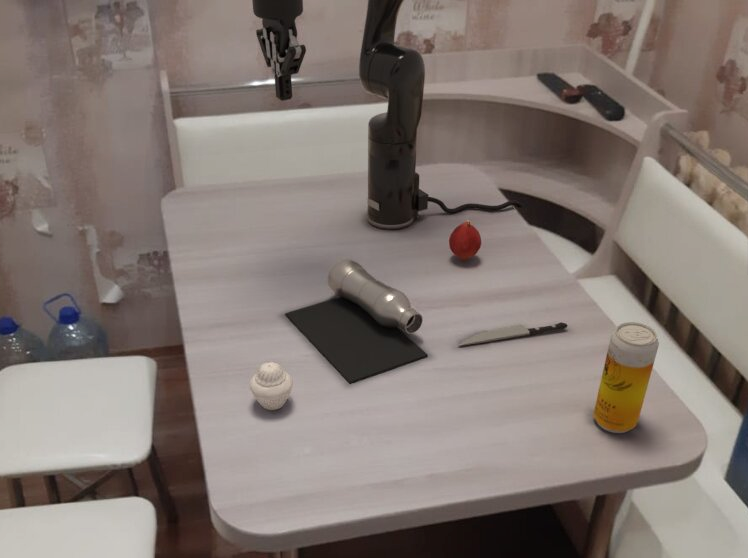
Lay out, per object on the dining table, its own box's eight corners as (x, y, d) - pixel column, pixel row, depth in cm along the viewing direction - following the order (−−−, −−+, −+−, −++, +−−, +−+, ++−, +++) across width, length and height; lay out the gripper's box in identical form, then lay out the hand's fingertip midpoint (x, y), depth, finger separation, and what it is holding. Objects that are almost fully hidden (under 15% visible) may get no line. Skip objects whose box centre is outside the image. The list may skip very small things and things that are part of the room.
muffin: (275, 385, 123) (272, 346, 119) (302, 403, 120) (300, 364, 115) (242, 403, 120) (238, 364, 115) (269, 422, 116) (266, 383, 112)
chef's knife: (451, 338, 133) (457, 347, 131) (451, 331, 132) (457, 341, 130) (560, 321, 137) (568, 329, 134) (561, 315, 136) (569, 323, 134)
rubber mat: (357, 293, 144) (357, 291, 144) (427, 356, 129) (427, 354, 129) (285, 315, 138) (285, 313, 138) (349, 383, 123) (349, 381, 123)
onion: (443, 264, 152) (446, 224, 147) (453, 250, 156) (456, 210, 151) (474, 269, 150) (478, 229, 145) (483, 255, 154) (487, 216, 149)
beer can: (587, 409, 119) (606, 321, 109) (628, 407, 119) (651, 319, 110) (600, 436, 114) (621, 347, 105) (642, 434, 114) (667, 345, 105)
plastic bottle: (345, 291, 146) (420, 343, 133) (317, 287, 141) (392, 340, 129) (358, 257, 143) (435, 307, 131) (330, 252, 139) (407, 303, 126)
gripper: (320, -15, 119) (324, 106, 130) (279, -32, 128) (286, 83, 138) (273, -8, 116) (281, 115, 127) (234, -26, 125) (245, 91, 136)
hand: (284, 98), depth 133 cm, fingers closed
